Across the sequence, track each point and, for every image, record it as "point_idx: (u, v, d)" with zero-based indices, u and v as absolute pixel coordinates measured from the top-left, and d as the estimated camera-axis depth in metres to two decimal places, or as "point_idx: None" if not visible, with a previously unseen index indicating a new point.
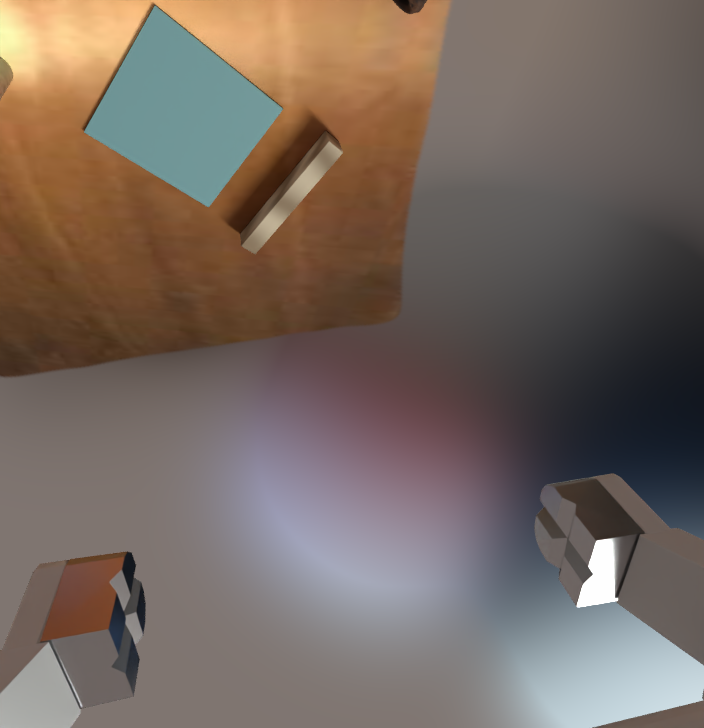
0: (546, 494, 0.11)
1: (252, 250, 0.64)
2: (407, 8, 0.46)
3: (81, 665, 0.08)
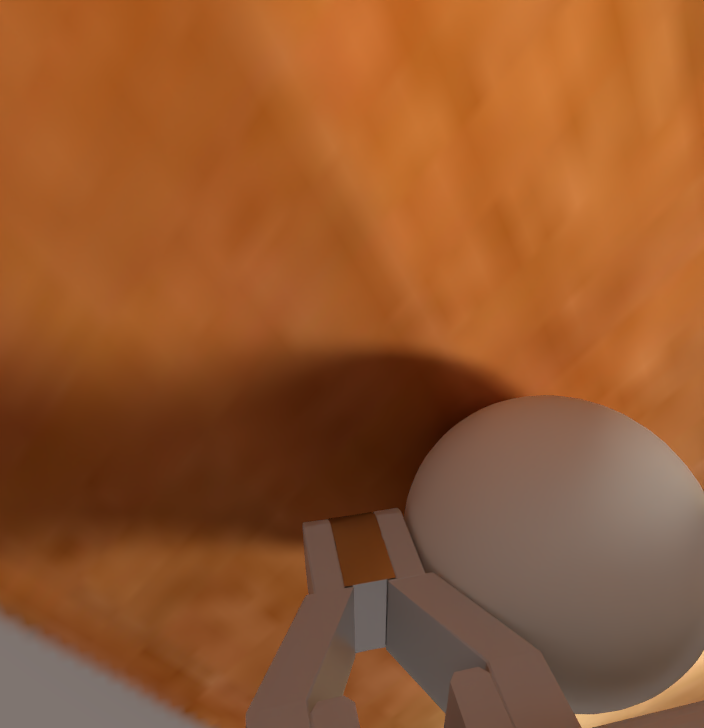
0: None
1: None
2: None
3: (369, 610, 0.09)
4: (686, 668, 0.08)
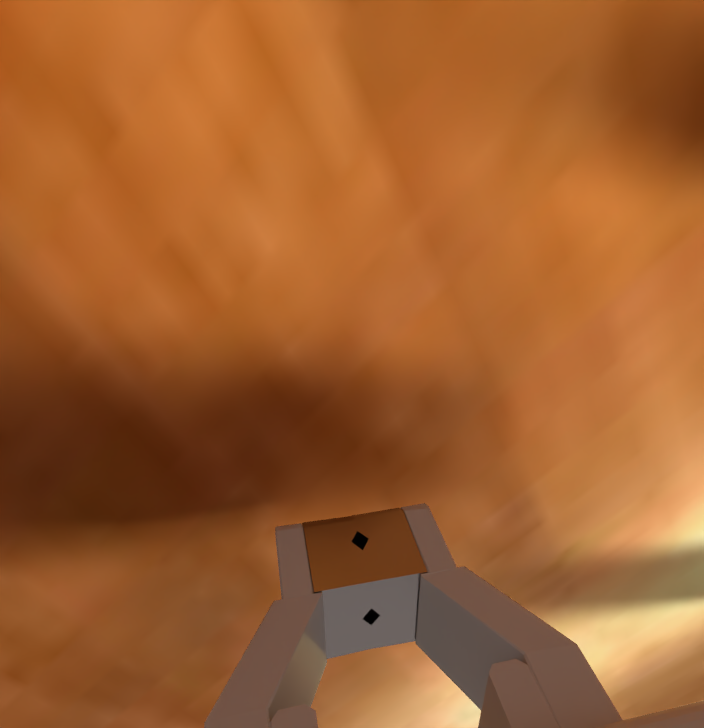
0: None
1: None
2: None
3: (339, 616, 0.09)
4: None
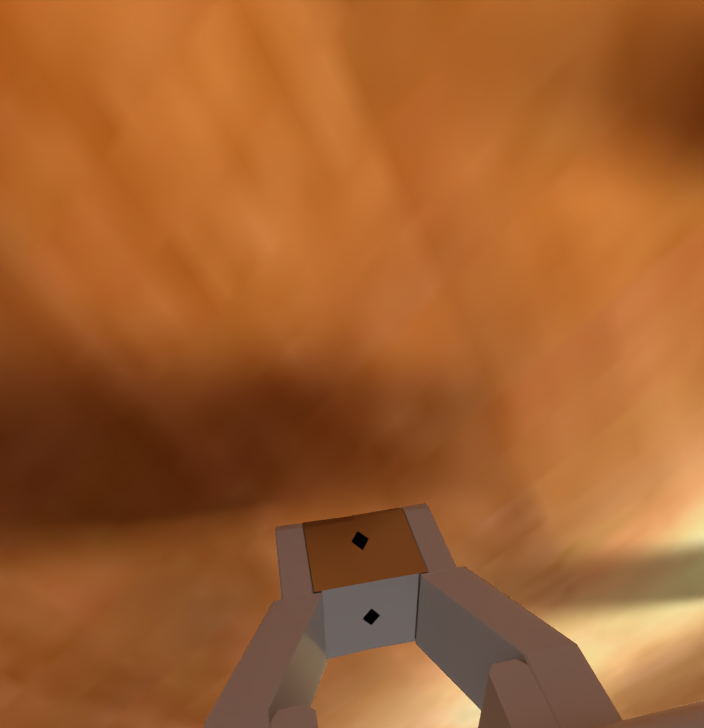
0: None
1: None
2: None
3: (339, 616, 0.09)
4: None
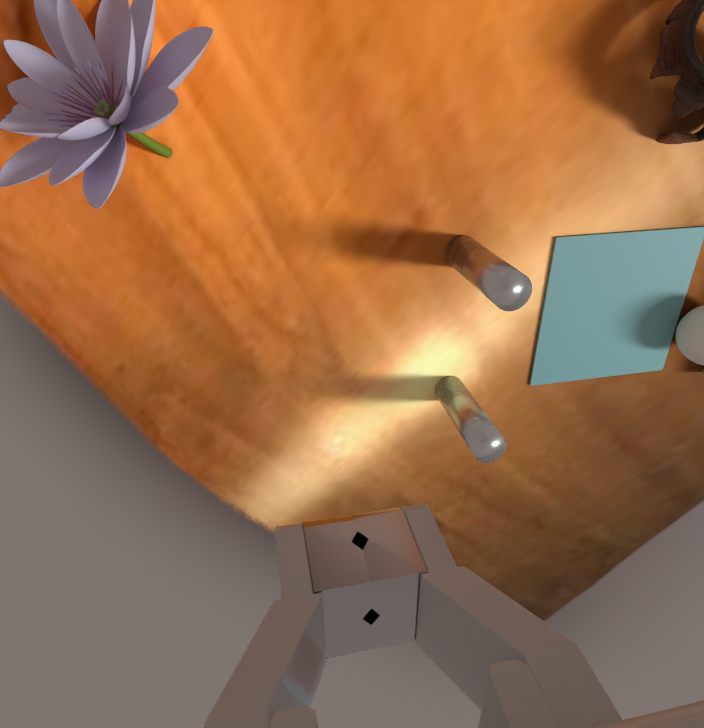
0: None
1: None
2: None
3: (339, 616, 0.09)
4: None
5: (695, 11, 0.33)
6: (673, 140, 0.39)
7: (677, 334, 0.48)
